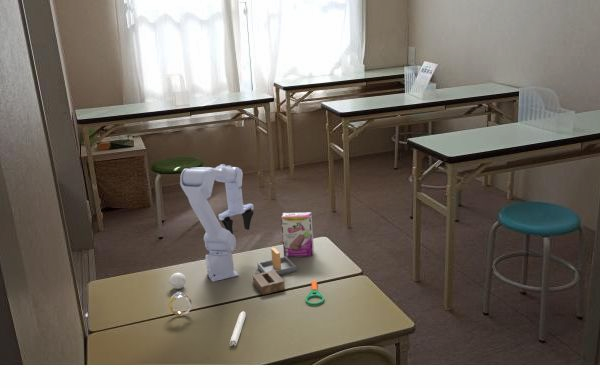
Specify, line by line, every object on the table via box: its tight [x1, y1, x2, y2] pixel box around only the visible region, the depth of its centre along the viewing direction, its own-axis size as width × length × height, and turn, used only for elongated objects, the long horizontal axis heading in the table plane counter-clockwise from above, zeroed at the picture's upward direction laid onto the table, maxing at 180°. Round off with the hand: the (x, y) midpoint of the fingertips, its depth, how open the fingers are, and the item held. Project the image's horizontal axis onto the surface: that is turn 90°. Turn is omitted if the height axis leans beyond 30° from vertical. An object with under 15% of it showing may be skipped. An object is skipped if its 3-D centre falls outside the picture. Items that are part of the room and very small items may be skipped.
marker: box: [229, 310, 247, 347], centre depth 176 cm, size 18×2×2 cm, turn 175°
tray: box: [257, 255, 297, 276], centre depth 214 cm, size 11×10×2 cm
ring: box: [167, 291, 192, 317], centre depth 186 cm, size 7×3×8 cm, turn 87°
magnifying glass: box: [305, 280, 325, 307], centre depth 194 cm, size 15×6×2 cm, turn 179°
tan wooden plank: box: [270, 247, 281, 270], centre depth 213 cm, size 1×6×7 cm, turn 22°
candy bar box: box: [280, 211, 315, 258], centre depth 223 cm, size 11×5×16 cm, turn 84°
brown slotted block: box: [251, 270, 286, 296], centre depth 201 cm, size 8×10×3 cm
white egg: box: [169, 272, 187, 290], centre depth 205 cm, size 8×6×6 cm
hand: (238, 232), depth 223 cm, fingers open, 7 cm apart
